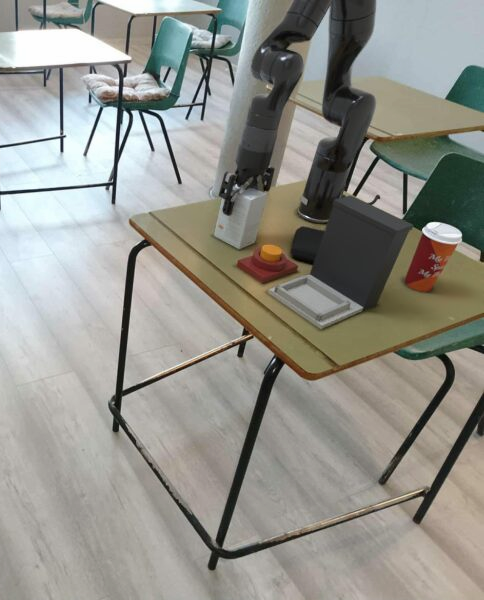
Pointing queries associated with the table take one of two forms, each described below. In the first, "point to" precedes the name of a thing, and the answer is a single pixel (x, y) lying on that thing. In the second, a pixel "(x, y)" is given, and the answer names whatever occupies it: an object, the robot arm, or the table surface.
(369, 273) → the coffee dock
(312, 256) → the carrying case
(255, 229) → the small box
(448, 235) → the paper cup
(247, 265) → the button panel
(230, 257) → the table surface
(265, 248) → the button
